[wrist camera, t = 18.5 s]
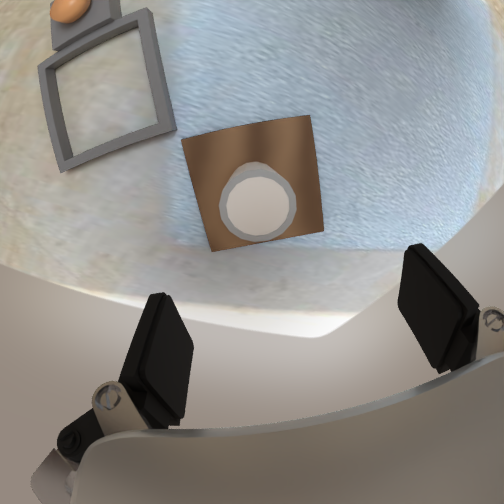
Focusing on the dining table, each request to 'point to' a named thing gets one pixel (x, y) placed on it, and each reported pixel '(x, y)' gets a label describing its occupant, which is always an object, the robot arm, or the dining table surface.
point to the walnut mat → (264, 151)
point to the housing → (78, 41)
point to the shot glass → (257, 203)
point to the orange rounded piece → (68, 10)
